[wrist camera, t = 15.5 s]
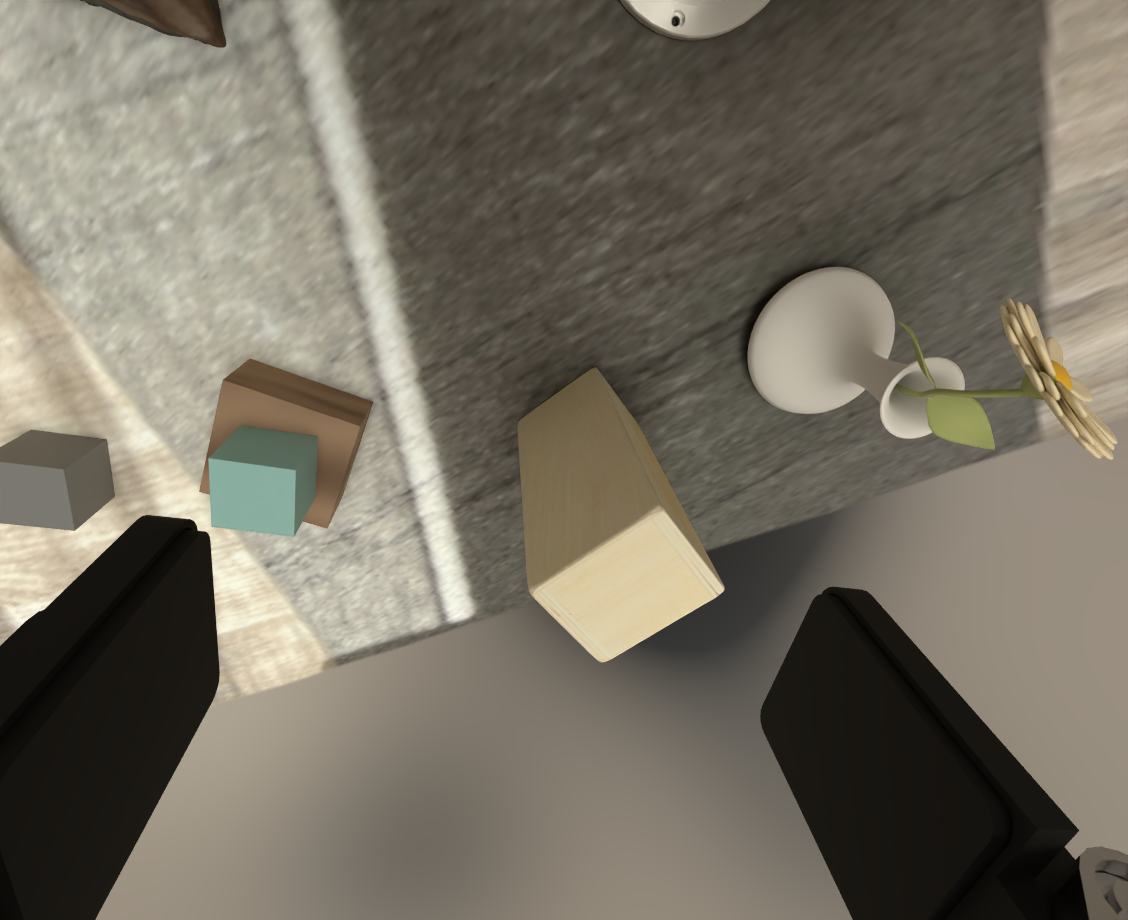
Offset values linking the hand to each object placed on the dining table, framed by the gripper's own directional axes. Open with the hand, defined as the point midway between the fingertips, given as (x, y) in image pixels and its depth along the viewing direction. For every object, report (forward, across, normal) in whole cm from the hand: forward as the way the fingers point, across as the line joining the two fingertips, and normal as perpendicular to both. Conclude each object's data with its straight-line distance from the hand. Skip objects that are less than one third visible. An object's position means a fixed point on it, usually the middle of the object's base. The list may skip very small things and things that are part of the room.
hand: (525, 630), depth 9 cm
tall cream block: (+36, -8, +11) cm, 39 cm away
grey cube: (+36, +30, +20) cm, 51 cm away
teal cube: (+32, +14, +15) cm, 38 cm away
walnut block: (+37, +14, +15) cm, 42 cm away
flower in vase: (+36, -24, 0) cm, 44 cm away
